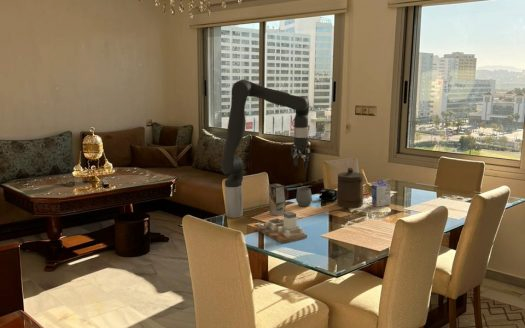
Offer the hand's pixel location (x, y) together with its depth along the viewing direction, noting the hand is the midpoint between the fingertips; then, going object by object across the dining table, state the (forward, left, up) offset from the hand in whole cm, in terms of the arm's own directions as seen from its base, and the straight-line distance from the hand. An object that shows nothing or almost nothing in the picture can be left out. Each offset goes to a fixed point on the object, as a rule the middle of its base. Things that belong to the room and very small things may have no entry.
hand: (300, 167), depth 249 cm
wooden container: (-10, +42, -30) cm, 52 cm away
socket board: (+10, -19, -29) cm, 37 cm away
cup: (-24, +19, -30) cm, 42 cm away
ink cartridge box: (+1, +56, -30) cm, 63 cm away
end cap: (-25, +38, -30) cm, 54 cm away
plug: (+16, -18, -28) cm, 37 cm away
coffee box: (-20, -2, -30) cm, 36 cm away
